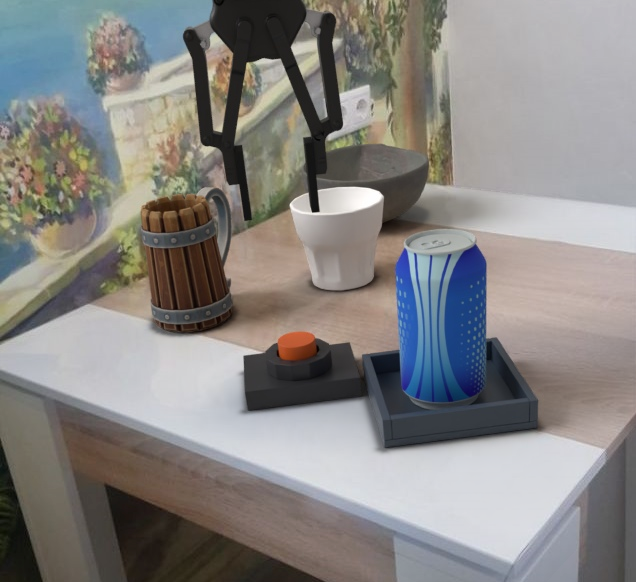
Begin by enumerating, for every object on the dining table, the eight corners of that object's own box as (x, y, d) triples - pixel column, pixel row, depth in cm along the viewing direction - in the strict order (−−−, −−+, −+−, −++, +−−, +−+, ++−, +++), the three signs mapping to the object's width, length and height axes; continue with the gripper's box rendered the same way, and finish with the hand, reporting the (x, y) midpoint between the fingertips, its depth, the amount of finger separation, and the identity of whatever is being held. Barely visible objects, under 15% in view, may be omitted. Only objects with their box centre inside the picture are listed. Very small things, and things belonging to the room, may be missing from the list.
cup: (367, 257, 128) (362, 181, 122) (403, 284, 118) (399, 201, 112) (286, 275, 125) (277, 197, 119) (316, 303, 115) (307, 220, 109)
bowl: (286, 239, 139) (278, 175, 134) (334, 201, 155) (329, 142, 149) (408, 244, 131) (405, 176, 126) (445, 203, 147) (444, 142, 142)
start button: (315, 343, 95) (313, 329, 94) (318, 359, 92) (316, 344, 91) (278, 348, 95) (276, 333, 94) (280, 364, 92) (278, 349, 91)
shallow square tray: (496, 362, 95) (497, 336, 94) (537, 428, 83) (538, 400, 81) (363, 379, 95) (361, 354, 94) (384, 447, 83) (382, 420, 81)
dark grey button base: (351, 359, 99) (348, 327, 97) (361, 396, 92) (359, 361, 90) (246, 372, 99) (240, 340, 97) (247, 410, 91) (242, 376, 89)
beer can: (413, 373, 93) (406, 225, 85) (492, 378, 91) (494, 226, 82) (392, 411, 87) (383, 254, 78) (477, 418, 84) (477, 256, 76)
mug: (203, 338, 108) (182, 218, 101) (137, 328, 113) (112, 213, 106) (269, 292, 120) (255, 181, 112) (207, 285, 125) (188, 178, 117)
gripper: (354, -73, 77) (371, 191, 89) (140, -49, 77) (186, 213, 89) (366, -73, 71) (382, 211, 83) (132, -46, 70) (183, 236, 82)
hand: (281, 212), depth 86 cm, fingers open, 6 cm apart
